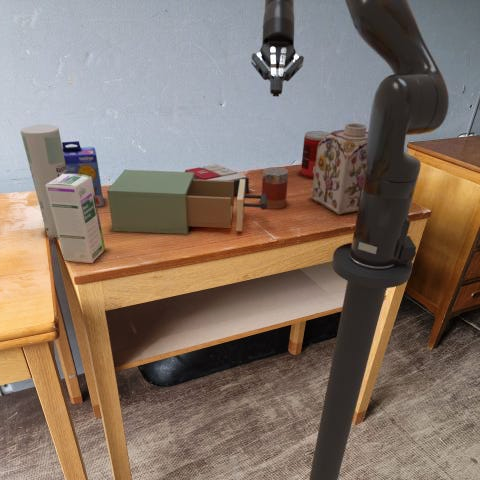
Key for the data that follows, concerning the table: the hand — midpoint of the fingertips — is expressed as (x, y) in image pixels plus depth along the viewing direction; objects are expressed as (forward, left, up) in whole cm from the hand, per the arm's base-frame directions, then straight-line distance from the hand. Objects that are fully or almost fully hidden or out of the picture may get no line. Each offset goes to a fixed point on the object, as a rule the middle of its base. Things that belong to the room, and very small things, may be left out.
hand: (276, 94), depth 104 cm
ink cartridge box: (+44, +17, -22) cm, 53 cm away
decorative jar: (-18, +10, -22) cm, 30 cm away
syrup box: (+35, +42, -22) cm, 59 cm away
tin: (-1, +12, -22) cm, 25 cm away
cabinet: (+25, +24, -22) cm, 41 cm away
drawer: (+11, +24, -21) cm, 34 cm away
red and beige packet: (+14, +2, -22) cm, 27 cm away
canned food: (-13, -12, -22) cm, 28 cm away
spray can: (+43, +32, -22) cm, 58 cm away
